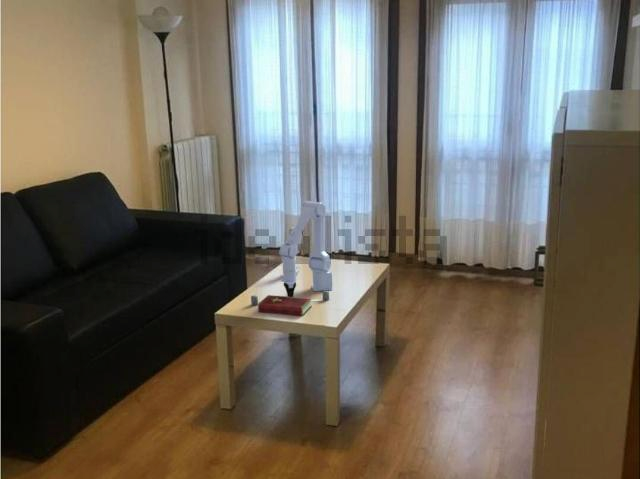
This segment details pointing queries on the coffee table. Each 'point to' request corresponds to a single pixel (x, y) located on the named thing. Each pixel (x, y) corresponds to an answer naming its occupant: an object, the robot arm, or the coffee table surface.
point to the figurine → (296, 268)
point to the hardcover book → (284, 305)
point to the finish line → (325, 298)
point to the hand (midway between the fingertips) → (290, 298)
